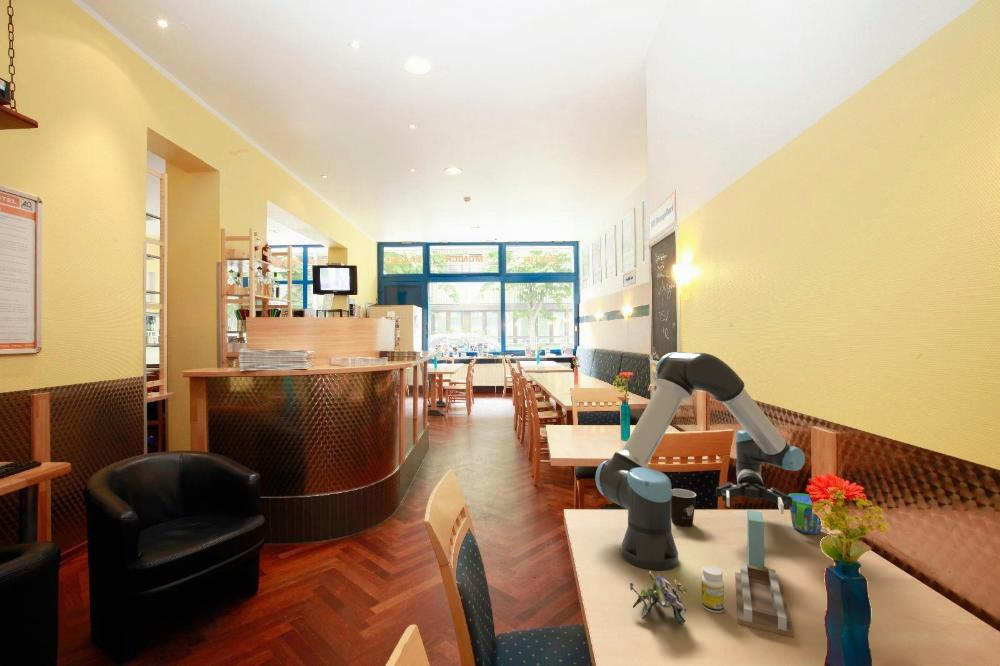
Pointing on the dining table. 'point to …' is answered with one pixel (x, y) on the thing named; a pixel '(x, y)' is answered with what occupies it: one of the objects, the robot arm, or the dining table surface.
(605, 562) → the dining table surface
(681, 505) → the coffee mug
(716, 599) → the supplement bottle
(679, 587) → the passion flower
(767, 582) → the track
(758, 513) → the teal rectangular block
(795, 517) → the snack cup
